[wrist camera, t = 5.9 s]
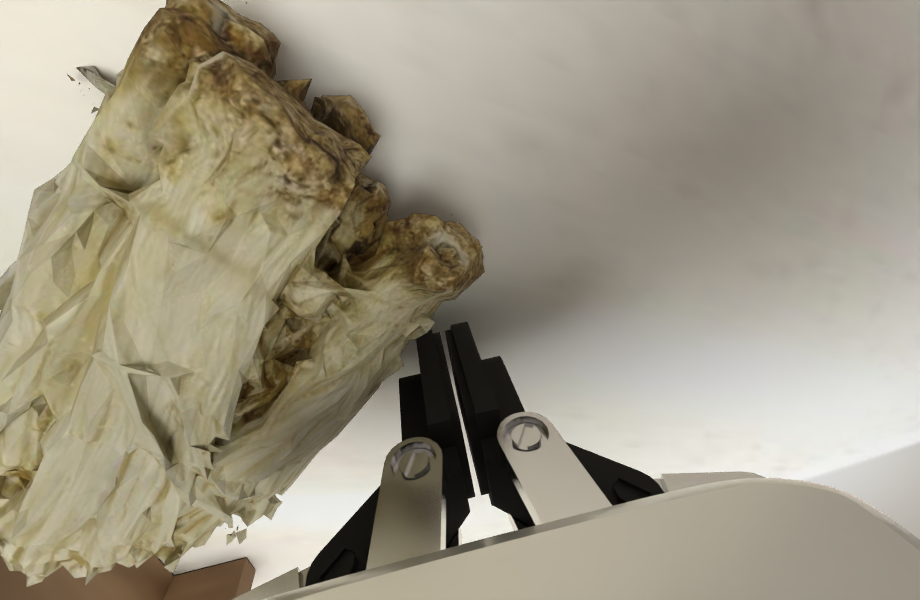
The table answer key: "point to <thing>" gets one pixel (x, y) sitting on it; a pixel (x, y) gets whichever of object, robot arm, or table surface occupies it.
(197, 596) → the stand
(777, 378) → the table surface
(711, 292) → the table surface
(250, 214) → the beige fibrous lump
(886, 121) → the table surface
